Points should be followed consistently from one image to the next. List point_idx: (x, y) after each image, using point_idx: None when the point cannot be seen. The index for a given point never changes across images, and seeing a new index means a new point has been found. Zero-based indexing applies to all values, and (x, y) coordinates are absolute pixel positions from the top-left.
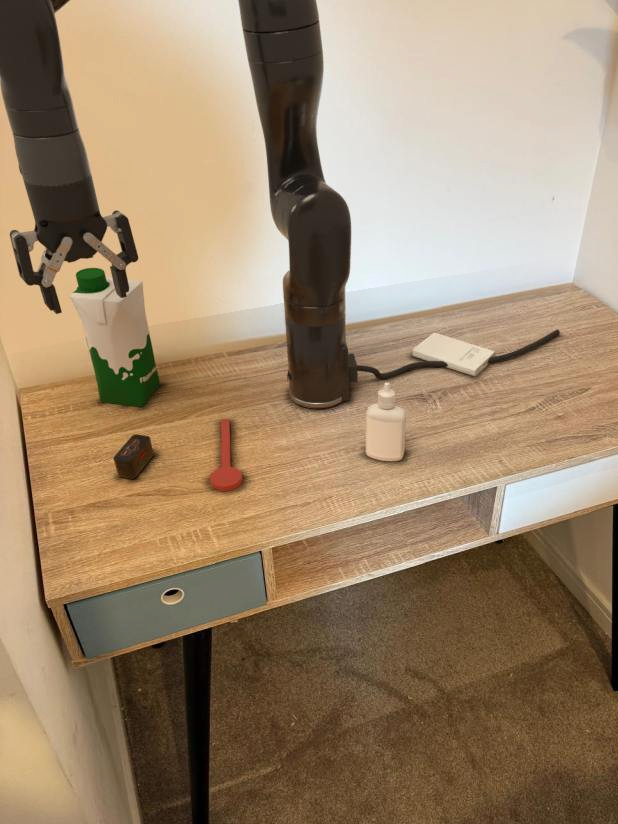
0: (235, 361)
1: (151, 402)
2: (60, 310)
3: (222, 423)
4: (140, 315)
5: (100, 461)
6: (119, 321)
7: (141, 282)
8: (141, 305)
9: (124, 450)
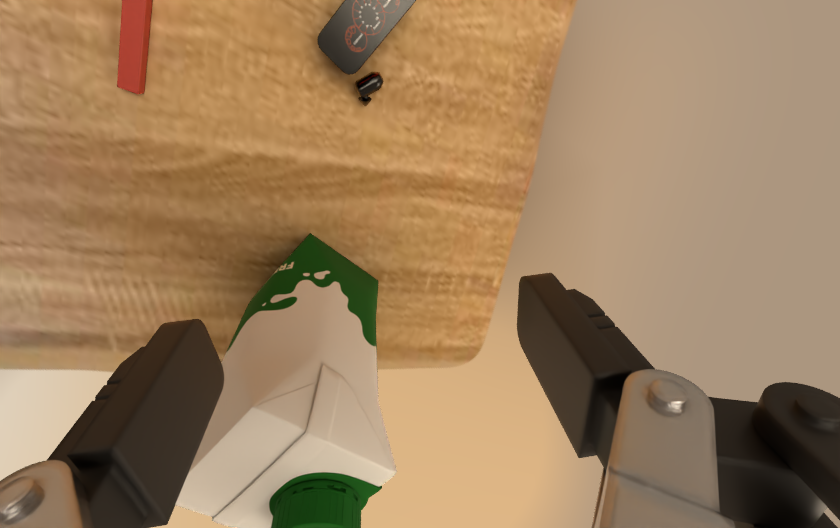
0: (92, 314)
1: (289, 243)
2: (531, 279)
3: (136, 74)
4: None
5: (430, 83)
6: (281, 364)
7: None
8: None
9: (387, 13)
